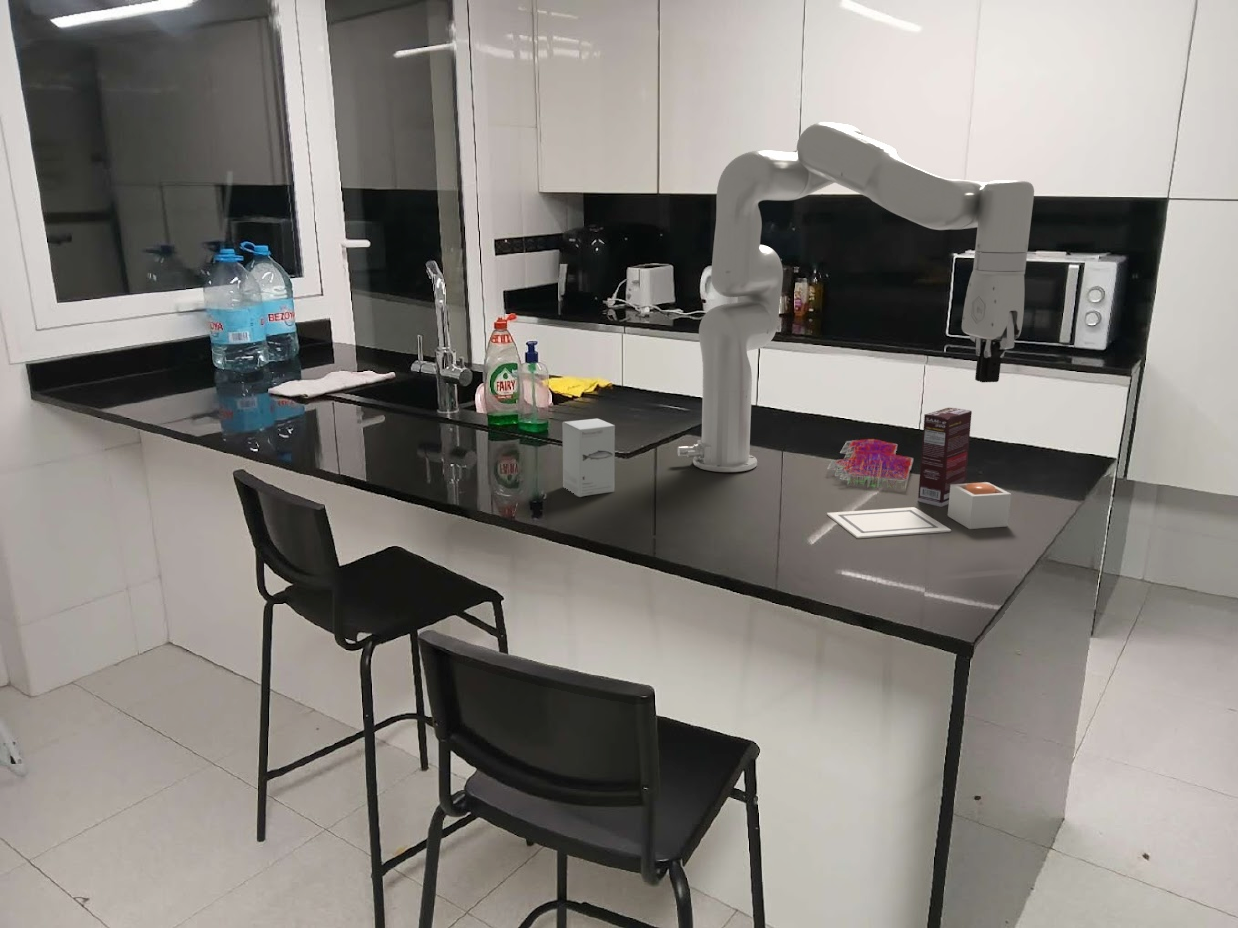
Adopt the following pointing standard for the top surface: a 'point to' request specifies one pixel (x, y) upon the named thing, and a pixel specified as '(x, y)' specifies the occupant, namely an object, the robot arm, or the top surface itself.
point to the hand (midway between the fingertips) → (986, 381)
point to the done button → (980, 488)
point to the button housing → (979, 507)
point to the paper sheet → (887, 522)
